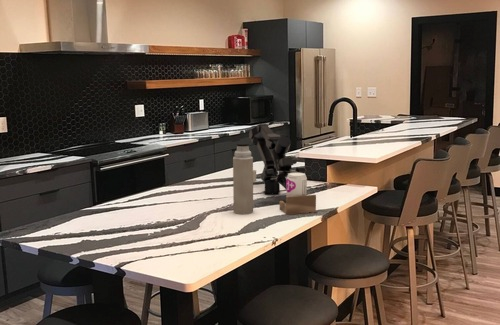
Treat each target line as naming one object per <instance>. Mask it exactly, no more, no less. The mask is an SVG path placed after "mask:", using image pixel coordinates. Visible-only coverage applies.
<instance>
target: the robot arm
mask: <svg viewBox="0 0 500 325" xmlns="http://www.w3.org/2000/svg"><path fill="white" fill-rule="evenodd" d="M248 138H249V139H250V141H251V143H252V144H253V145H255V146H256V147H257V150H258V152H259V154H260V157H261V160H262V162H263V165H264V166H263V170H262V172H261V174H260V178H261V179H260V180H261V181H262V182H264V195H266V196H267V195H268V196H271V195H273V196H274V195H275V196H276V195H279V194H280V191H281V190H280V185H281V186H282V187H283V188H284V189H285V190H286V178H287V176H288V174H289V173H294V172H298V173H305V175H306V173H307V169H306V167H305V166H299V167H298V166H297V167H296V168H295V169H294V170H291V169H292V166H294V165H296V164H297V162H298V161H297V156H296V155H292V156H291V157H287V156H286V154H287V153H288V151H289V149H290V147H291V144H292V140H291V139H290V138H289V137H287V136H285V134H276V133H274V131H273V130H272V129H271V128H270V126H269V124H267V123H258V124H256V126H254V127H252V128H251V129H250V131H249V132H248ZM271 150H272V151H271Z"/></svg>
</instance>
